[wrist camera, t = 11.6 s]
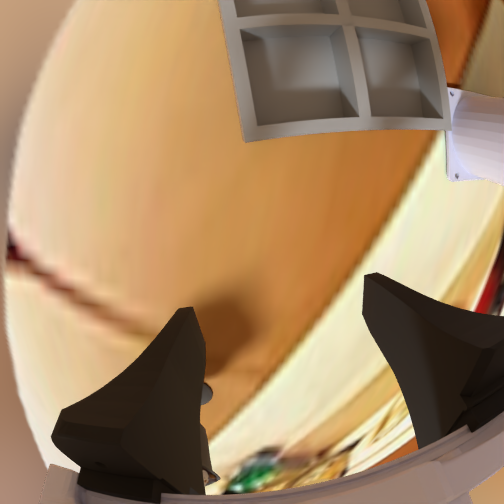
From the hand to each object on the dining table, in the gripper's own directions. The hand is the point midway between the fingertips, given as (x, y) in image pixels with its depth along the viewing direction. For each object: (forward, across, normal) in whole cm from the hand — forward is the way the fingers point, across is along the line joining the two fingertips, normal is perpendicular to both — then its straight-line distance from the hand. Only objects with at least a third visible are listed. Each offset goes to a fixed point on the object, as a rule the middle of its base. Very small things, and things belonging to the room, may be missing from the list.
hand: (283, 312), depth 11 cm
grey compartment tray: (+9, -7, -17) cm, 21 cm away
